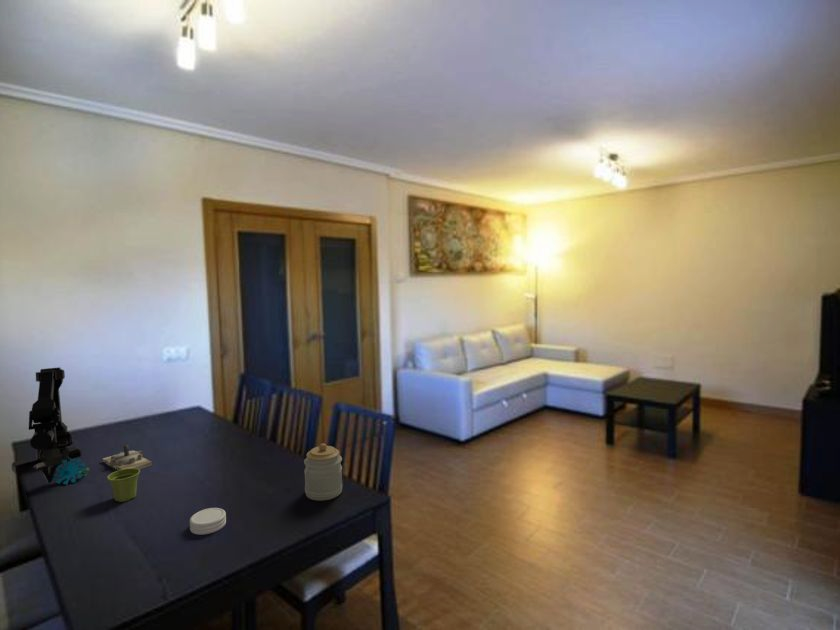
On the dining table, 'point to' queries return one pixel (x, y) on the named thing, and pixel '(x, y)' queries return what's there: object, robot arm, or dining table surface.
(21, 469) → the robot arm
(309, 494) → the jar
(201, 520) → the white round flat block
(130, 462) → the gear board
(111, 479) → the plant pot
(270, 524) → the dining table surface
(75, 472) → the gear
